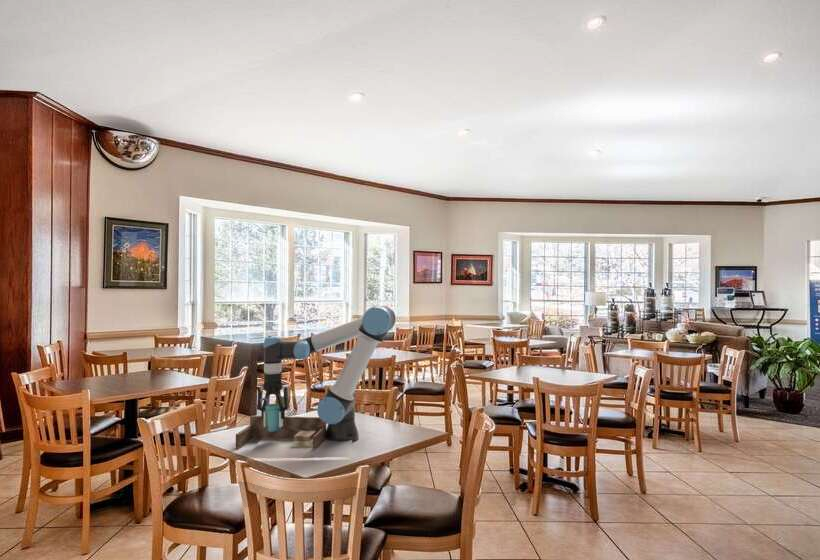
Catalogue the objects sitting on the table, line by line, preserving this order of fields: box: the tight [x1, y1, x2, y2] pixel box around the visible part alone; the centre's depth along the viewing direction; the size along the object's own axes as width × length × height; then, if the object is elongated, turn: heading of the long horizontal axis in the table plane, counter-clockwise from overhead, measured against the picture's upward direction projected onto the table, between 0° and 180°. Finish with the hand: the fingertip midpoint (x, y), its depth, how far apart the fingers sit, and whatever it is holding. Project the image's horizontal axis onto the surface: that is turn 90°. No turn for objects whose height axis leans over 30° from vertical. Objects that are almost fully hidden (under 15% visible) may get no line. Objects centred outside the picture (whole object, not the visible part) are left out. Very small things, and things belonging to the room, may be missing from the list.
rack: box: [235, 415, 327, 450], centre depth 235 cm, size 34×18×10 cm, turn 85°
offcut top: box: [293, 430, 317, 442], centre depth 233 cm, size 7×10×2 cm
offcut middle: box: [293, 439, 313, 447], centre depth 233 cm, size 8×11×2 cm
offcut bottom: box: [290, 442, 313, 448], centre depth 233 cm, size 9×13×2 cm
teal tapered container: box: [259, 395, 284, 432], centre depth 235 cm, size 14×8×15 cm, turn 148°
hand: (273, 426), depth 235 cm, fingers closed on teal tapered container, 6 cm apart
